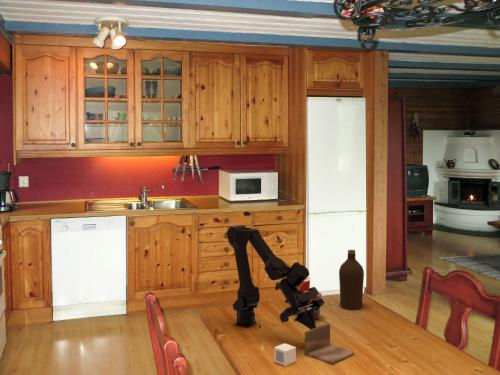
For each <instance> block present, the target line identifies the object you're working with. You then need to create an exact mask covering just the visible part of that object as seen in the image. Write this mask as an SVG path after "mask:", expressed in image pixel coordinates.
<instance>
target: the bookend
mask: <svg viewBox="0 0 500 375" xmlns="http://www.w3.org/2000/svg"><path fill="white" fill-rule="evenodd" d="M304 355H305V356H308V357H311V358H313V359H315V360H318V361H321V362H323V363H326V364H329V365H332V366H333V365H336V364H338V363H340V362H342V361H344V360H346V359H348V358H350V357H353V356H355V355H356V353H355V351H353V350H352V351H351V350H348V349H346V348H343V347H340V346H337V345H335V344H331V324H330V323H324V324H321V325H319V326H316V328H313V329H309V330H305V331H304Z"/></svg>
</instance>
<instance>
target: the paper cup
mask: <svg viewBox="0 0 500 375" xmlns="http://www.w3.org/2000/svg"><path fill="white" fill-rule="evenodd" d="M311 280H312V279H311V276H310V275H309V276H308V277H307V278H306V279H305V280H304V281H303V283H302V284H301V285H300V286H297V287H298V289H299V291H300V290H303V291H309V288H311V286H310V285H311Z"/></svg>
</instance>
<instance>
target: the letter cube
mask: <svg viewBox="0 0 500 375" xmlns="http://www.w3.org/2000/svg"><path fill="white" fill-rule="evenodd" d="M296 348H297V347H296V346H293V345H291V344H288V343H286V342H285V343H282V344H279V345H277V346H274V348H273V350H274V352H273V353H274V363H277V364H279V365H281V366H284V367H287V366H289V365H292V364H293V363H296V362H297V352H296V351H297V349H296Z"/></svg>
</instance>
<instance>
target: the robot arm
mask: <svg viewBox="0 0 500 375" xmlns="http://www.w3.org/2000/svg"><path fill="white" fill-rule="evenodd" d="M260 233H261V232H260V230H259V229H257V228H253V227H247V226H245V225H244V224H240V225H233V226H230V227H229V228H228V229H227V230H226V236H227V240H228V244H230V246H231V247H232V249H233V252H234V257H235V258H234V259H235V263H236V269H237V275H238V276H237V277H238V281H239V287H238V290H237V293H236V294H237V299H236V300H235V301H234V302H233V304H232V308H233V311H236V322H235V323H234V325H235V326H240V327H245V328H249V327H251V326H253V325H254V324H255V325H256V323H257V321H256V313H255V309H257V308H258V305H259V303H260V298H261V295H260V289H259V286H256V285H254V283H253V279H252V273H251V272H252V271H251V266H250V260H249V255H248V249H247V246H248V243H250V245H251V247H252V248H253V249H254V250H255V251H256V253H257V255H258V256H259V258H260V259H261V261H262V262H263V264H264V270H265V272H266V275H267V276H268V278H269V279H270V280H271V281H277V282H275V287H274V290H275V291H279V290H280V291H281V293H282V295H283V296H284V298H285V300H284V302H285V304H289V306H288V307H286V308H285V309H284V310H283V311H282V312H281V313H280V314H279V319H280V321H281V323H282V324H284V323H287V322H289V319H290V317H293V316H294V317H295V318H294V319H293V321H294V322H298V323H300V324H301V325H303V326H304V327H306V328H308V329H309V330H310V329H313V328H316V327H317V325H316V320H314V312H316V311H317V310H318V309H319V308H320V309H321V308H322V307H323V306H324V304H325V301H324V299H323V298H322V297H321V298H317V295H318V294H319V293H318V292H319V291H318V289H317V288H316V286H313V287H310V288H309V291H308V292H304V291H303V290H300V291H299V289H298V287H297V286H300V285H301V284H302V283H303V281H304V280H305V279H306V278H307V277H308V276H310V271H309V269H308V267H307V266H304V265H303V264H300V262H299V261H296V262H293V264H292V265H291V266H289V265H288V264H286V262H285V261H284V260H283V259H282V258H280V257H278V256H277V255H276V254H274V252H273V250H272V249H271V248H270V246H269V245H268V243H267V242H266V241H265V239H264V238H263V237H262V235H261V234H260ZM278 280H279V281H278ZM314 298H315V299H314ZM316 298H317V299H316ZM312 299H314V300H312ZM311 300H312V301H311ZM310 301H311V302H310ZM309 302H310V303H309ZM308 303H309V304H308ZM304 308H305V309H304Z"/></svg>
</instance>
